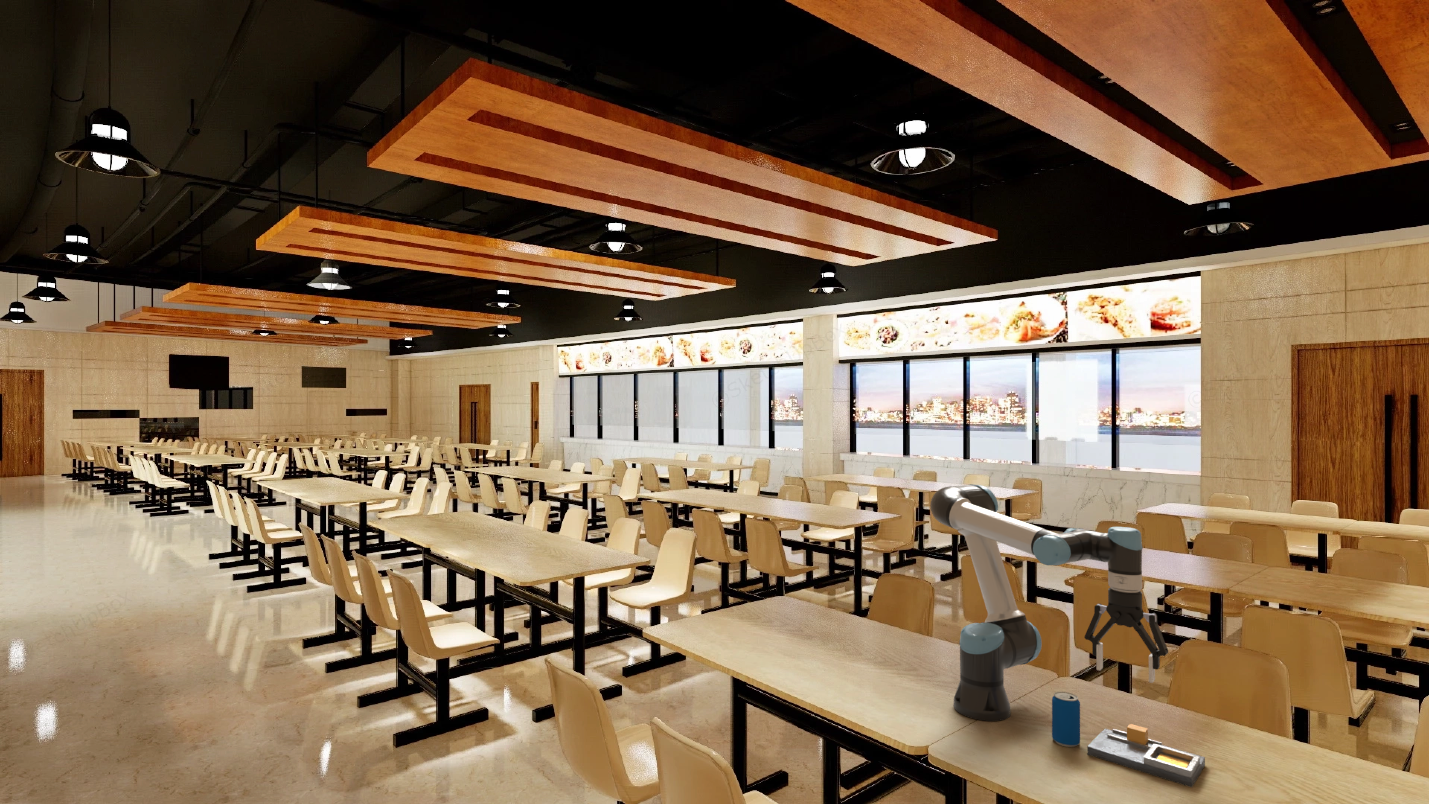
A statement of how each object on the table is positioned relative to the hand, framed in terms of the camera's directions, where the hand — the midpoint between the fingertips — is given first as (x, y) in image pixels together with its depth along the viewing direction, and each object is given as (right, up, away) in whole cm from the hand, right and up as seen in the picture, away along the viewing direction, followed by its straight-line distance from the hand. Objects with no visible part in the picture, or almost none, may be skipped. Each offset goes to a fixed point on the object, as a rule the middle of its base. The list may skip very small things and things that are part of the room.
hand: (1125, 675), depth 182 cm
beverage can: (-14, -18, +2) cm, 23 cm away
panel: (+1, -18, -7) cm, 19 cm away
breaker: (+2, -16, -2) cm, 16 cm away
